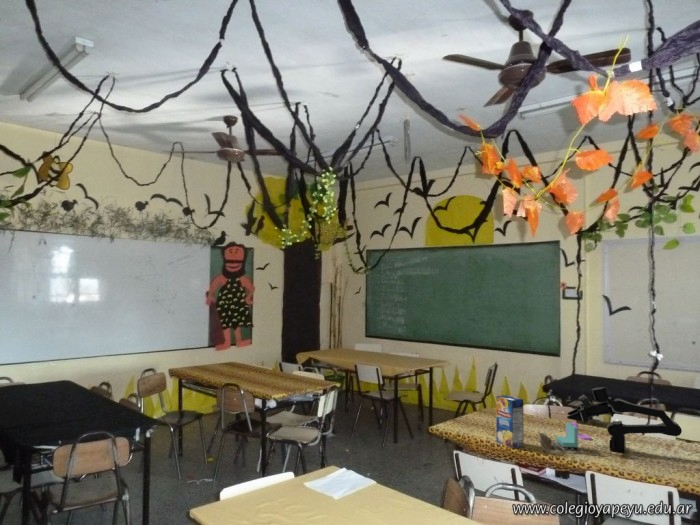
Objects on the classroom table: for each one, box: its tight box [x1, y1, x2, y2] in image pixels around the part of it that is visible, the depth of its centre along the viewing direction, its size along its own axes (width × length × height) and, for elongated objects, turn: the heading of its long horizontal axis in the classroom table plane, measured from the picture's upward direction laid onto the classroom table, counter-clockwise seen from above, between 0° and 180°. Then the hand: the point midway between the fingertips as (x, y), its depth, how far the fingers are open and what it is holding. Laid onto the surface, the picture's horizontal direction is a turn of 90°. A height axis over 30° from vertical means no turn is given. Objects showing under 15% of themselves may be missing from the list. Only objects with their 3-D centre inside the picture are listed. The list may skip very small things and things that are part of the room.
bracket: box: [565, 421, 592, 441], centre depth 282 cm, size 13×6×7 cm, turn 31°
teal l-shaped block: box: [555, 422, 579, 447], centre depth 259 cm, size 7×11×9 cm, turn 177°
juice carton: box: [496, 394, 525, 449], centre depth 266 cm, size 12×8×24 cm, turn 25°
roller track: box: [538, 432, 585, 455], centre depth 259 cm, size 18×13×6 cm
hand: (567, 415), depth 268 cm, fingers open, 9 cm apart
